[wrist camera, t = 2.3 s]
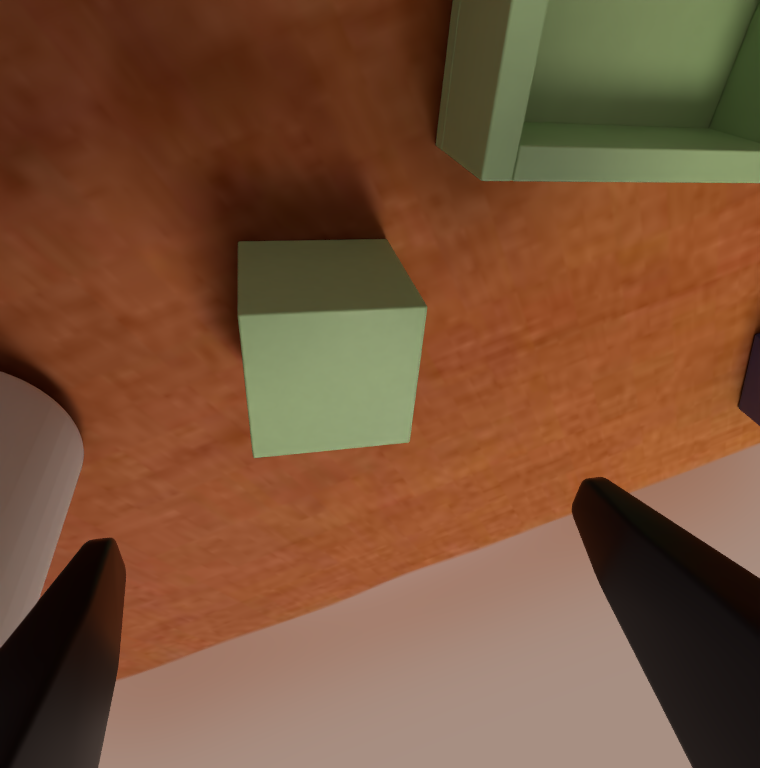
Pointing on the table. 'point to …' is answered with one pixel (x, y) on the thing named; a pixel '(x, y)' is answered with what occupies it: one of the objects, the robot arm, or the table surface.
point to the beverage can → (31, 492)
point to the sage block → (327, 344)
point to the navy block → (752, 384)
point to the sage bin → (603, 90)
